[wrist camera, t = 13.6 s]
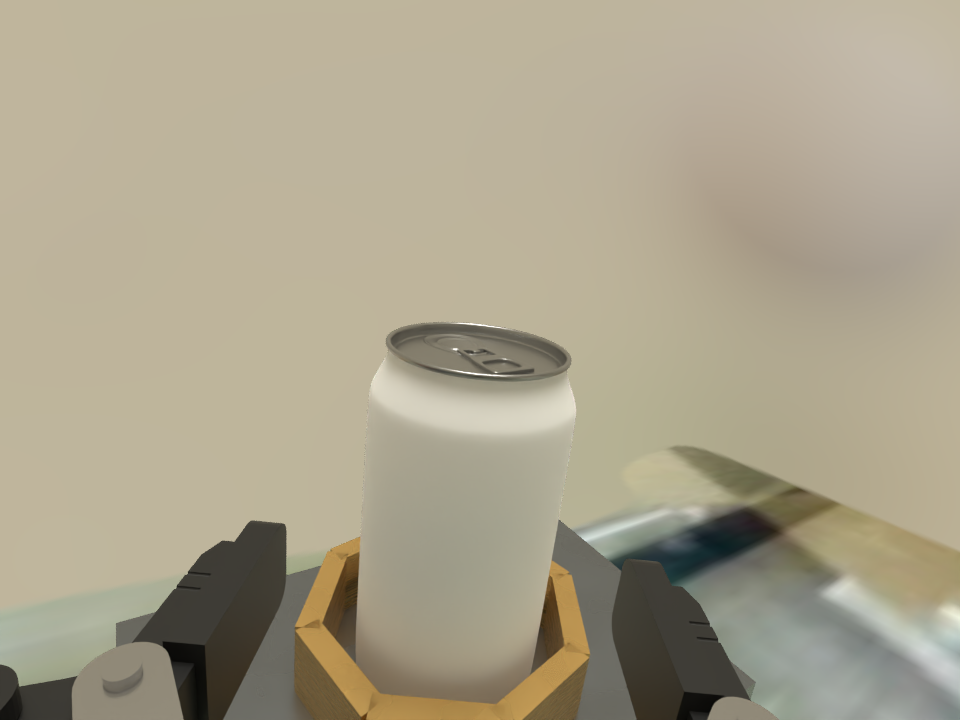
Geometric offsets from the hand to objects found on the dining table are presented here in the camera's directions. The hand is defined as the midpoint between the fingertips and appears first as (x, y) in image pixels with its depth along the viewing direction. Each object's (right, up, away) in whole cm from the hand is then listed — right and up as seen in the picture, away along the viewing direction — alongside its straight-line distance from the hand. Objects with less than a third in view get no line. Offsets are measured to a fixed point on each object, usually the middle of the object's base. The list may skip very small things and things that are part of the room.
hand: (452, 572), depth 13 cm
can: (-1, -6, +7) cm, 9 cm away
